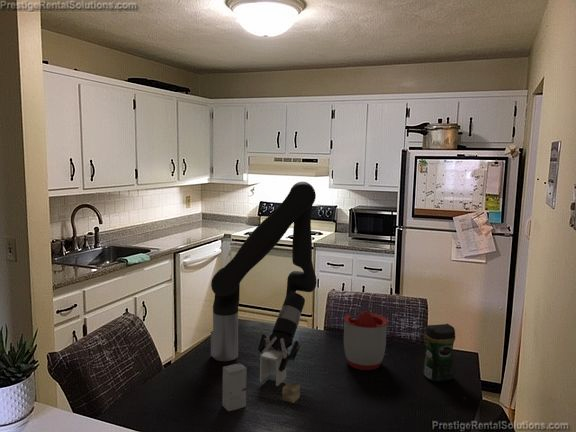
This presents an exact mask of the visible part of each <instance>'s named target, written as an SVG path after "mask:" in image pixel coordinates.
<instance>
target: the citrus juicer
mask: <svg viewBox="0 0 576 432" xmlns="http://www.w3.org/2000/svg"><path fill="white" fill-rule="evenodd" d="M343 320H344V323H343V324H344V326H343V347H344V348H343V349H344V354H345V359H346V362H347V363H348V365H349V366H350V367H352V368H354V369H357V370H360V371H372V370H376V369H378V368H379V367H380V366H381V364H382V362H383V360H384V357H385V353H386V352H385V351H386V346H387V331H388V330H387V329H388V323H389V321H388V318H386V317H385V316H383V315H381V314H378V313H374V312H369V311H367V310H365V311H363V312H362V311H360V315H359V316H358V317H357V318H356V319H352V316H351V315H350V314H349V313H348V314H346V315H344V316H343Z"/></svg>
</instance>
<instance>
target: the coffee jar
mask: <svg viewBox="0 0 576 432" xmlns="http://www.w3.org/2000/svg"><path fill="white" fill-rule="evenodd" d="M424 335H425V336H424V337H425V339H426V350H425V357H424V363H423V376H424V377H425V378H427V379H428V380H430V381H432V382H444V381H445V382H447V381H452V379H454V358H453V357H454V343H455V341H456V329H455V327H454V326H452V325H451V324H449V323H443V324H429V325H427V326H426V327H425V333H424Z"/></svg>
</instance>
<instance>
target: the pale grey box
mask: <svg viewBox="0 0 576 432" xmlns="http://www.w3.org/2000/svg"><path fill="white" fill-rule="evenodd" d="M282 358H283V352H282V351H279V350H275V349H271V350H268V351H265V352H264V353H263V354H261V353H260V354H259V361H260V364H259V382H260V383H262V382H264V381H265V380H266V379H267V378H268V377H269V376H273V377H275V386H276V387H279V386H280V384H282V382H284V381H285V380H286V379H287V367H286V368H285V370H283V372H281V371H280V370H279V366H280V364H281V361H282Z"/></svg>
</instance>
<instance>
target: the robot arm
mask: <svg viewBox="0 0 576 432" xmlns="http://www.w3.org/2000/svg"><path fill="white" fill-rule="evenodd" d="M315 190H316V189H315V188H314V187H313V185H311V184H310V183H309V182H307V181H299V182H296V183H294V184H293V185H292V187H291V188H290V190H289V192H288V194H287V196H286V197H285V198H284V200H283V201H282V202H281V204H280V205H278V208H277V209H275V211H273V212H272V213H271V214H270V215H268V216H267V217H266V218H265V219H264V220H263V221H261V222H260V224H259V225H258V226H256V228H255V229H254V230H253V231H252V232H251V233H250V234H249V235H248V236H247V238H246V239H245V241H244V242H243V244H242V245H241V246H240V247H239V249H238V251H237V252H236V254H235V255H234V256H233V257H232V259H230V261H229V262H228V263H227V264H226V265H225V266H224V267H221V268H220V269H219V270H218V271H216V273H215V274H214V275H213V277H212V279H211V282H210V287H211V290H212V292H213V293H214V300H213V305H212V330H211V331H210V357H212V358H213V359H214V360H216V361H217V362H218V361H219V362H231V361H234V360H236V359H237V358H238V357H239V307H240V306H239V305H240V288H241V287H240V284H241V282H242V281H243V279H244V278H245V277H246V275H247V274H248V273H249V272H250V271H251V270H253V268H254V267H255V266H256V265H258V264H259V263H260V262H261V261H262V260H263V259H264V258H265V257H266V256H267V255H268V254H269V253H270V252H271V251H272V250H273V249H274V247H276V245H277V244H278V243H279V242H280V240H281V239H282V238H283V237H284V235H285V234H286V233H287V231H288V229H290V227H291V226H292V224H293V231H292V250H291V251H292V264H293V265H295V266H297V267H298V268H301V270H302V271H299V270H293V271H291V272H290V273H288V276H287V280H286V281H287V282H286V292H285V298H284V301H283V303H282V307H281V309H280V310H279V313H278V314H277V318H276V320H275V323H274V326H273V329H272V332H271V334H270V335H265V334H264V333H263V334H262V335H261V336H260V337H261V338H260V340H259V344H258V348H257V350H258V352H259V353H260V355H261V354H263V353H264V352H265V351H268V350H271V349H275V350H279V351H282V352H283V358H282V361H281V364H280V366H279V370H280V371H281V372H283V370H285V368H286V369H287V364H288V362H289V361H292V362H293V361H295V359H296V357H297V354H298V352H299V350H300V347H301V344H300V342H299V341H297V340H294V337H295V336H296V332H297V329H298V326H299V324H300V320H301V317H302V312H303V309H304V306H305V303H306V299H305V297H304V296H303V295H301V294H300V293H297V291H298V292H305V293H312V292H314V291H315V289H316V287H317V282H318V281H317V276H316V272H315V268H314V264H313V256H312V255H313V242H312V225H311V224H312V212H313V211H312V210H313V209H312V208H313V205H314V203H315V201H316V191H315ZM267 343H268V344H267ZM290 347H292V348H291V351H290V352H289V348H290ZM258 364H259V365H260V360H259V361H258Z"/></svg>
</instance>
